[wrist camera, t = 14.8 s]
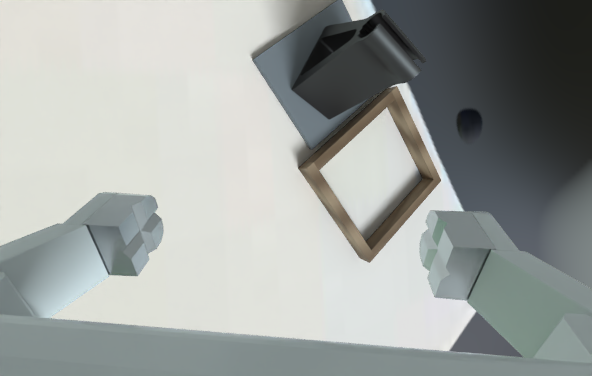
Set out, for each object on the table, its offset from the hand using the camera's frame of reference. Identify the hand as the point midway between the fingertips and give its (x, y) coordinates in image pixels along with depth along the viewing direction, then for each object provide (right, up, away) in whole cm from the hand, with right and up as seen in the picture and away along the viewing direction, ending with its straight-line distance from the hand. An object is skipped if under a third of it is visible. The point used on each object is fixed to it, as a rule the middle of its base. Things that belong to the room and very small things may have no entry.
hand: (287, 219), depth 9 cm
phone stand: (+4, +15, +28) cm, 32 cm away
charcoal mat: (+4, +15, +28) cm, 32 cm away
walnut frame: (+11, +3, +34) cm, 35 cm away
